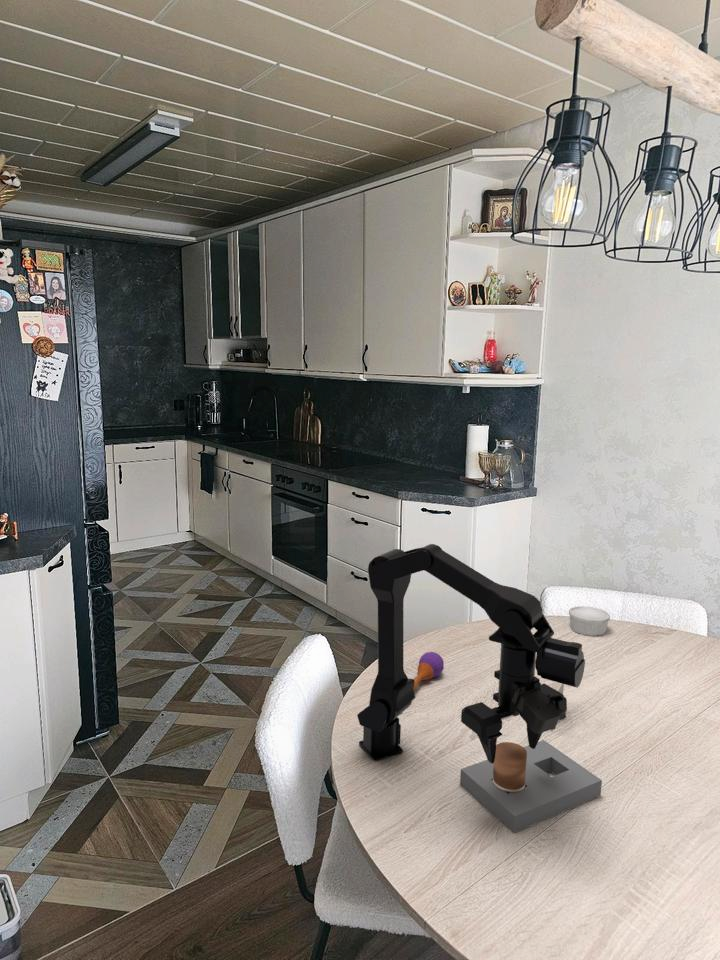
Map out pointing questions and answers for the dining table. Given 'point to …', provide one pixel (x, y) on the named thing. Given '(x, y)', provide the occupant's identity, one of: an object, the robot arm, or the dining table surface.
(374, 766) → the dining table surface
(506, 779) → the mahogany dowel
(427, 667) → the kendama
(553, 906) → the dining table surface
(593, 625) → the ramekin
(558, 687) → the architectural model
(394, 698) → the robot arm
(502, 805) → the charcoal board
